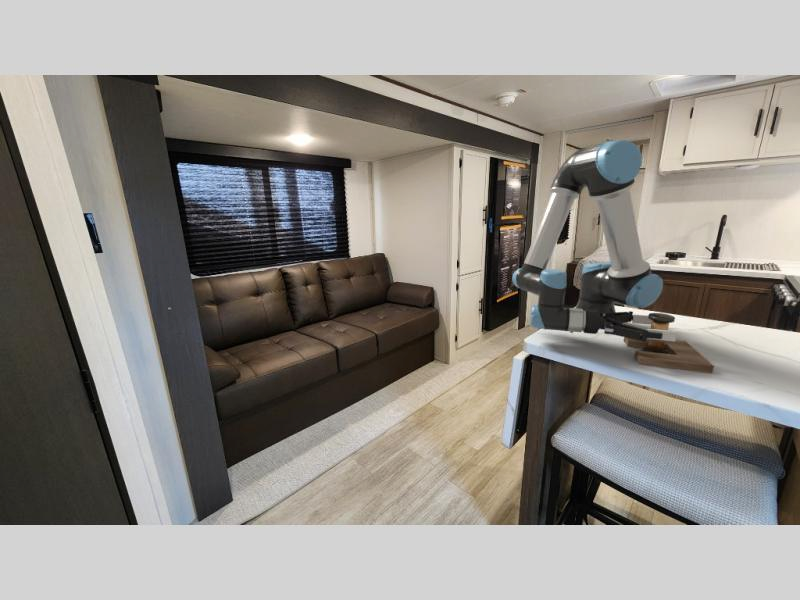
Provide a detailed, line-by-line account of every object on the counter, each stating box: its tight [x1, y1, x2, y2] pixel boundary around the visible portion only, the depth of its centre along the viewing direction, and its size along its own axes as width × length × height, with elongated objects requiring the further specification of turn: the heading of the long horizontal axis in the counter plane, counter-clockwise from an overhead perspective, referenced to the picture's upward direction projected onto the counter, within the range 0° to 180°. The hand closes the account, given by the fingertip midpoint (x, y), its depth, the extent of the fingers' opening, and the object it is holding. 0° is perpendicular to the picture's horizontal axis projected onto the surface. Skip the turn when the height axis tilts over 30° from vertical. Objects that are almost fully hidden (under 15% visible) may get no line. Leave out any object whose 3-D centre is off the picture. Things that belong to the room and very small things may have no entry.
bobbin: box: [641, 312, 676, 354], centre depth 94 cm, size 6×6×12 cm
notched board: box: [623, 337, 715, 374], centre depth 95 cm, size 18×16×2 cm
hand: (666, 328), depth 93 cm, fingers open, 13 cm apart
